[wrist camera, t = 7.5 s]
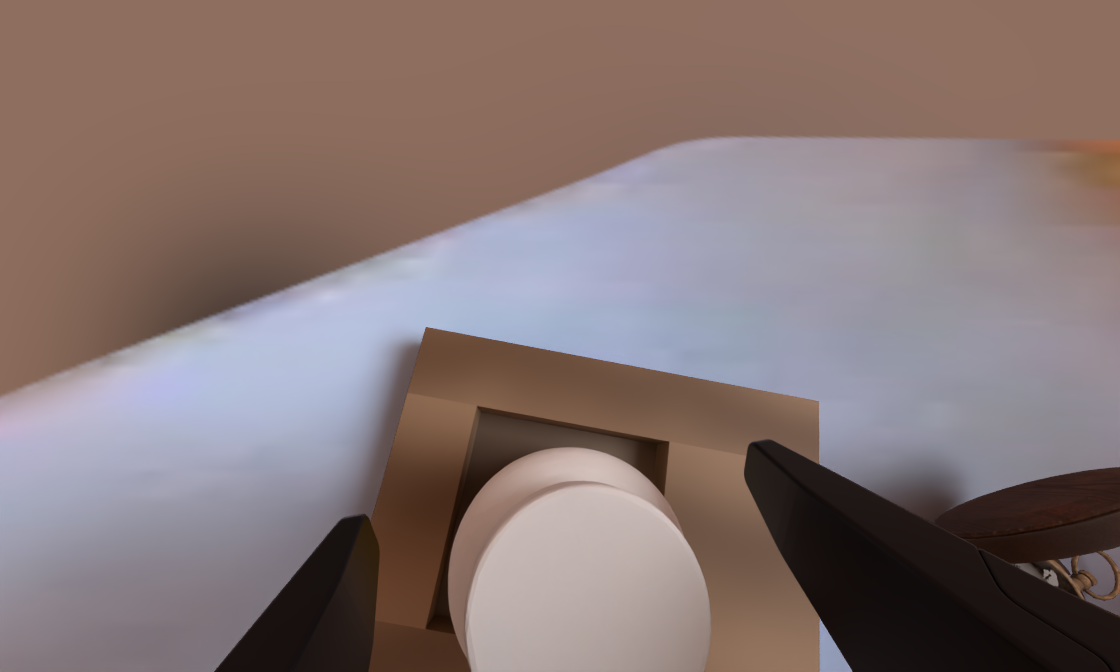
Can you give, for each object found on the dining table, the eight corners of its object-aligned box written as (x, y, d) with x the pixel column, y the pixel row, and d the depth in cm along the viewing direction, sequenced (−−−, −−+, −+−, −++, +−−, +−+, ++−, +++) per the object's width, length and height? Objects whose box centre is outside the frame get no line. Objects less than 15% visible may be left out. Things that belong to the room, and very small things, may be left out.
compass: (976, 739, 16) (1319, 937, 9) (861, 513, 18) (1071, 535, 11) (1139, 645, 17) (1547, 755, 10) (1016, 445, 19) (1288, 426, 12)
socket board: (782, 795, 15) (819, 841, 13) (333, 718, 15) (305, 753, 13) (789, 409, 19) (818, 401, 17) (435, 342, 19) (426, 327, 17)
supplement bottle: (465, 605, 16) (375, 814, 6) (488, 445, 17) (446, 418, 8) (620, 621, 16) (759, 845, 6) (629, 461, 17) (754, 454, 8)
